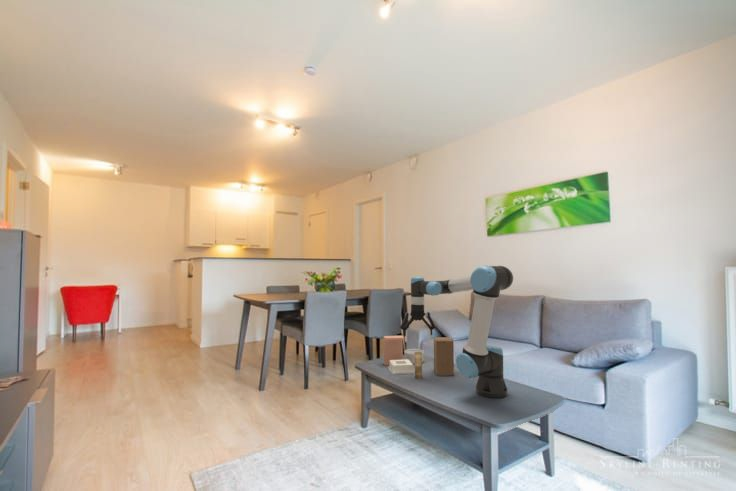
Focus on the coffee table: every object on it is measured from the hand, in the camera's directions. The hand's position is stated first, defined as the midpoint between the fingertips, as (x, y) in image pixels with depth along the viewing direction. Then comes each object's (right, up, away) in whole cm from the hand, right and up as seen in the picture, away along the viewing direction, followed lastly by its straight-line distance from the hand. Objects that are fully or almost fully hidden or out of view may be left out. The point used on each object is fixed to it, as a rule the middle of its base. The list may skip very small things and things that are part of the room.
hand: (417, 341), depth 205 cm
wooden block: (+16, -21, +7) cm, 27 cm away
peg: (0, -20, -1) cm, 20 cm away
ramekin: (+2, -22, +31) cm, 38 cm away
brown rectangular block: (-12, -22, +23) cm, 34 cm away
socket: (-8, -21, +12) cm, 26 cm away
